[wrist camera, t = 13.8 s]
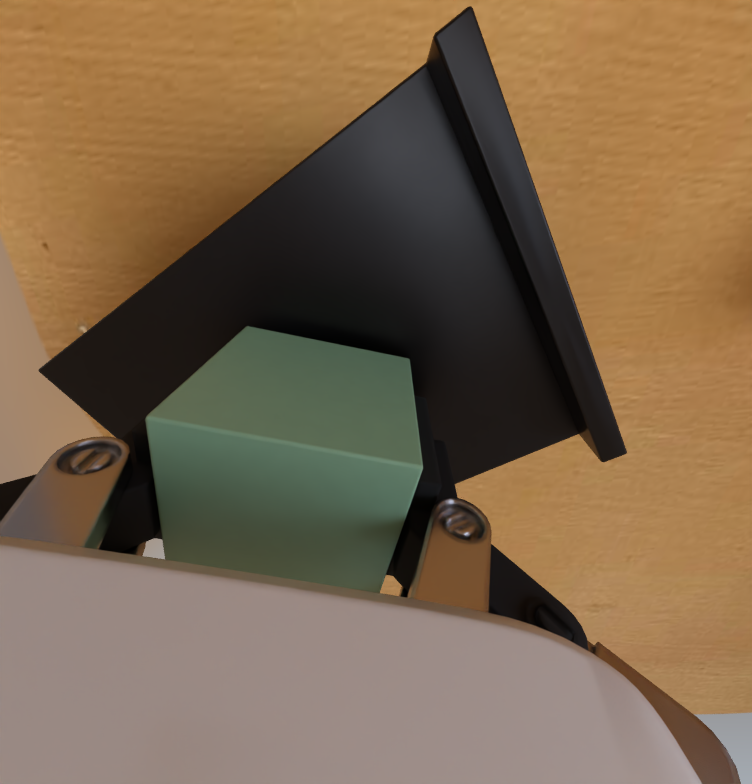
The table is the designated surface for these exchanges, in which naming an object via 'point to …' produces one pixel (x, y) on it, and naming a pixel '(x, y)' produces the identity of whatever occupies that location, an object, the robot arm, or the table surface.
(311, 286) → the plate
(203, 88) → the table surface
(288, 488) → the cube
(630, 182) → the table surface
